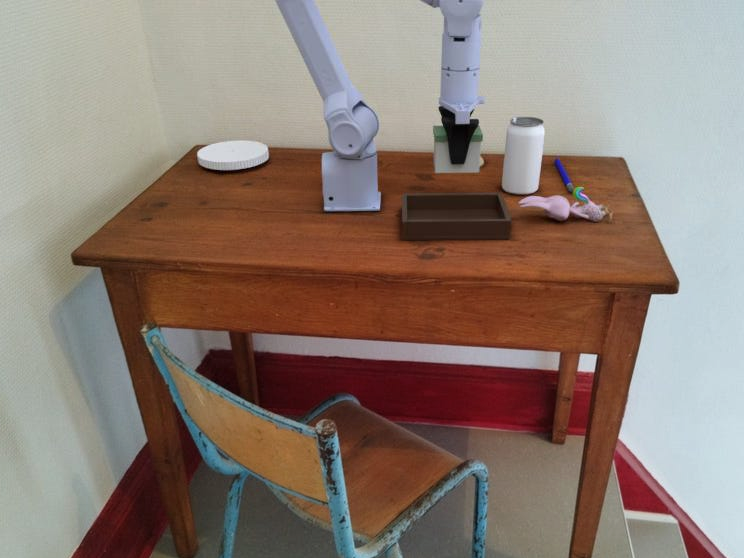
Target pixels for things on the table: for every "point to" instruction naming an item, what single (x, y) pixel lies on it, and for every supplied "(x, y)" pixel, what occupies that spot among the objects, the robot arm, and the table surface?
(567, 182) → the pencil
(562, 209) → the rabbit figure
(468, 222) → the tray
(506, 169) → the can
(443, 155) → the container
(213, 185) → the table surface
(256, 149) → the plastic lid
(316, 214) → the table surface
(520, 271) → the table surface
